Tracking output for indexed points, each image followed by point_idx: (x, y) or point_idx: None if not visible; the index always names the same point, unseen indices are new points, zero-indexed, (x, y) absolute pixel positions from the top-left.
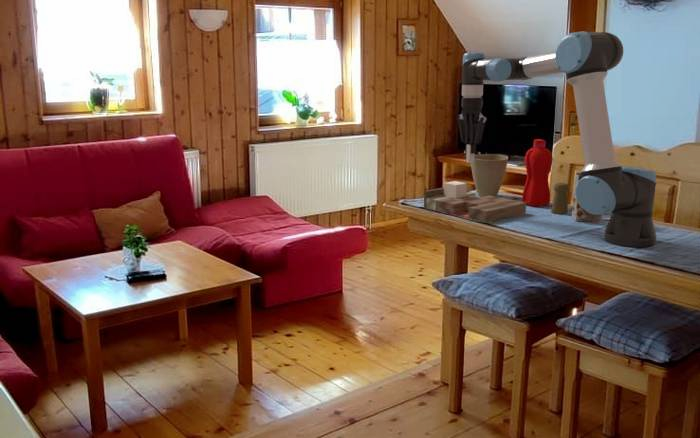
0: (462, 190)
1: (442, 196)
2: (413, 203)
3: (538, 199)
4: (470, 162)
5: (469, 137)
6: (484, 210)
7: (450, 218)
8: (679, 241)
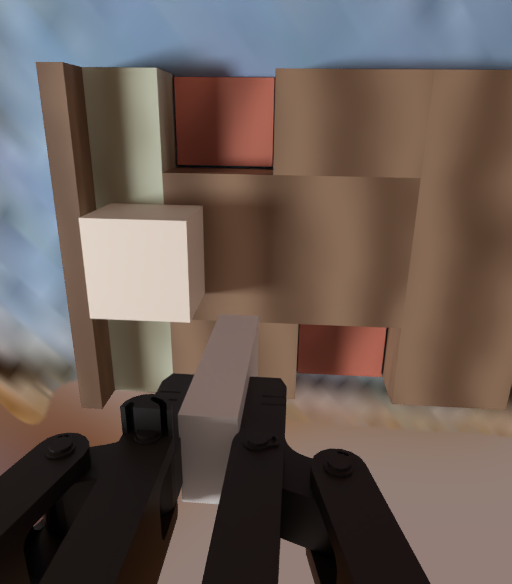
0: (196, 251)
1: None
2: (14, 330)
3: None
4: (257, 364)
5: (153, 540)
6: (487, 401)
7: (326, 421)
8: None
